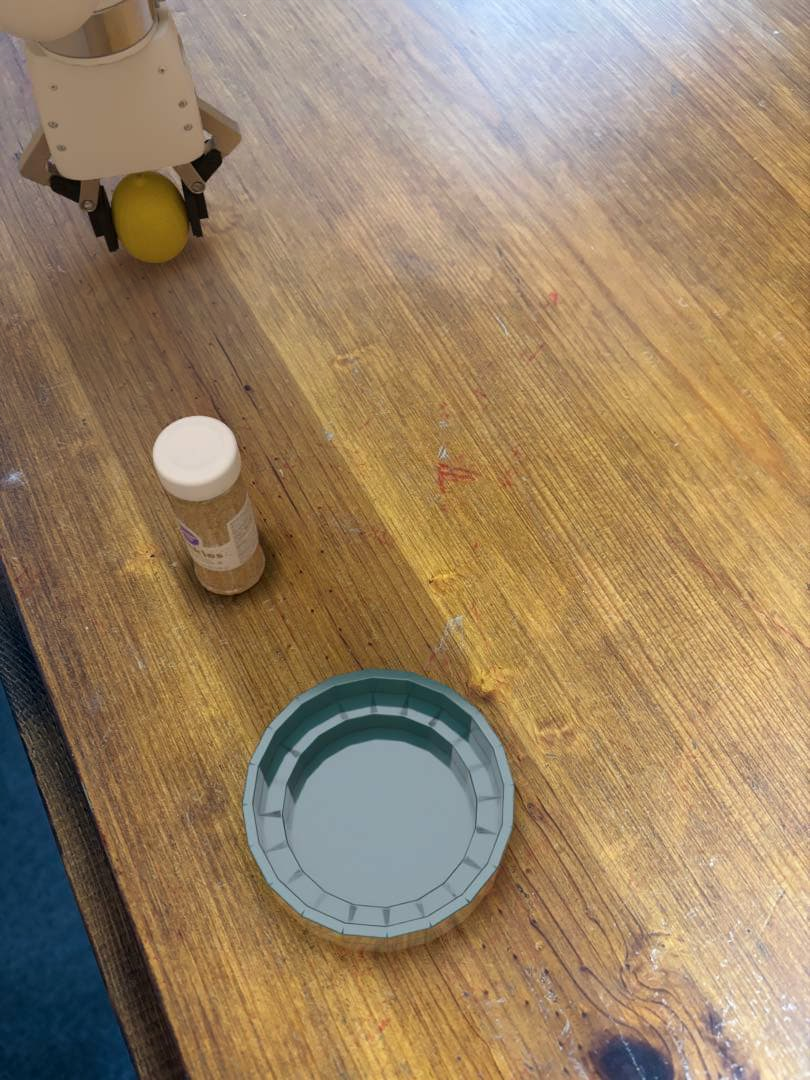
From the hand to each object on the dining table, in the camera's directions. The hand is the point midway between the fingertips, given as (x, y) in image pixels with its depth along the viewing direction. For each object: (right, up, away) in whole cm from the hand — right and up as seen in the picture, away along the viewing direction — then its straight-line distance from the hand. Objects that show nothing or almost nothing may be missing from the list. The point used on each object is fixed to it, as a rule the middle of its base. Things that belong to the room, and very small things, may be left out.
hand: (154, 229), depth 79 cm
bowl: (+17, -39, -19) cm, 47 cm away
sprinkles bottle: (+8, -25, -11) cm, 28 cm away
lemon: (0, -2, +3) cm, 3 cm away
